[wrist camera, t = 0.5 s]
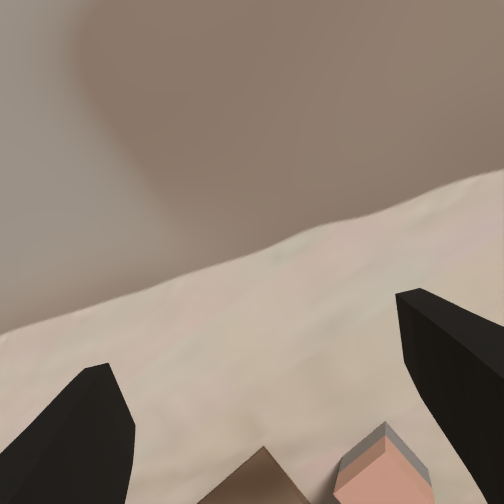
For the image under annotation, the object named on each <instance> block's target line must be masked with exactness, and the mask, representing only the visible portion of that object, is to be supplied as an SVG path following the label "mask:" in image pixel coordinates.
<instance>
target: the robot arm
mask: <svg viewBox="0 0 504 504" xmlns="http://www.w3.org/2000/svg"><path fill="white" fill-rule="evenodd" d="M395 296H396V303H397V311H398V319H399V326H400V334H401V342H402V349H403V357H404V363H405V365H406V367H407V369H408V371H409V374H410V376H411V378H412V380H413V382H414V384H415V386H416V388H417V390H418V392H419V394H420V396H421V398H422V400H423V401H424V403H425V404H426V406H427V408H428V409H429V411H430V412H431V414H432V415H433V417H434V418H435V420H436V422H437V423H438V425H439V426H440V428H441V429H442V431H443V432H444V434H445V435H446V437H447V438H448V440H449V442H450V443H451V445H452V446H453V448H454V449H455V451H456V452H457V454H458V455H459V457H460V458H461V460H462V461H463V463H464V465H465V466H466V468H467V469H468V471H469V472H470V474H471V475H472V477H473V479H474V480H475V482H476V484H477V485H478V487H479V489H480V490H481V492H482V494H483V496H484V498H485V499H486V501H487V503H488V504H504V327H503V326H501V325H498V324H496V323H494V322H491V321H489V320H487V319H485V318H482V317H480V316H478V315H476V314H474V313H472V312H470V311H467V310H465V309H463V308H461V307H459V306H457V305H455V304H453V303H451V302H449V301H447V300H445V299H443V298H441V297H439V296H437V295H434V294H432V293H430V292H428V291H426V290H424V289H421V288H418V289H414V290H410V291H405V292H401V293H397V294H395ZM135 426H136V425H135V423H134V421H133V418H132V416H131V414H130V411H129V409H128V407H127V405H126V402H125V400H124V398H123V395H122V393H121V391H120V388H119V386H118V384H117V381H116V379H115V377H114V374H113V372H112V370H111V367H110V365H109V363H105V364H101V365H97V366H93V367H88V368H85V369H84V370H82V371H81V372H80V373H79V374H78V375H77V376H76V377H75V378H74V379H73V380H72V381H71V382H70V383H69V384H68V385H67V386H66V387H65V388H64V389H63V390H62V391H61V392H60V393H59V394H58V395H57V397H56V398H55V399H54V400H53V401H52V402H51V403H50V404H49V405H48V406H47V407H46V408H45V409H44V410H43V411H42V412H41V413H40V414H39V416H38V417H37V418H36V419H35V420H34V421H33V422H32V423H31V424H30V425H29V426H28V427H27V428H26V429H25V430H24V431H23V432H22V433H21V434H20V435H19V436H18V437H17V438H16V439H15V440H14V441H13V442H12V443H11V444H10V445H9V446H8V447H7V448H6V449H5V450H4V451H3V452H1V453H0V504H125V499H126V495H127V490H128V485H129V480H130V476H131V471H132V465H133V456H134V443H135Z"/></svg>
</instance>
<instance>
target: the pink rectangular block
mask: <svg viewBox="0 0 504 504" xmlns="http://www.w3.org/2000/svg"><path fill="white" fill-rule="evenodd" d="M333 495H334V496H335V497H336V498H337V499H338V501H339V502H340V503H341V504H435V499H434V495H433V490H432V486H431V481H430V477H429V472H428V469H427V468H426V467H425V465H424V464H423V463H422V462H421V461H420V460H419V459H418V457H417V456H416V455H415V454H414V453H413V452H412V451H411V450H410V448H409V447H408V446H407V445H406V444H405V443H404V442H403V440H402V439H401V438H400V437H399V436H398V435H397V434H396V433H395V431H394V430H393V429H392V428H391V427H390V426H389V425H388V424H387V422H386V421H385V422H384V423H382V424H381V425H380V426H379V427H378V428H376V429H375V430H374V431H373V432H372V433H370V434H369V435H368V436H367V437H366V438H364V439H363V440H362V441H361V442H359V443H358V444H357V445H356V446H355V447H353V448H352V449H351V450H350V451H349V452H347V453H346V454H345V455H344V456H343V457H342V460H341V464H340V468H339V472H338V477H337V481H336V485H335V489H334V493H333Z"/></svg>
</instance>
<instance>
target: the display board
mask: <svg viewBox="0 0 504 504" xmlns="http://www.w3.org/2000/svg"><path fill="white" fill-rule="evenodd" d="M197 504H310V503H309V501H308V500H307V499H306V498H305V496H304V495H303V494H302V493H301V491H300V490H299V489H298V488H297V487H296V485H295V484H294V483H293V482H292V480H291V479H290V478H289V477H288V475H287V474H286V473H285V472H284V470H283V469H282V468H281V467H280V465H279V464H278V463H277V462H276V460H275V459H274V458H273V457H272V455H271V454H270V453H269V452H268V450H267V449H266V448H265V447H264V446H263V447H262V448H261V449H260V450H258V451H257V452H256V453H255V454H254V455H253V456H251V457H250V458H249V459H248V460H247V461H246V462H245V463H243V464H242V465H241V466H240V467H239V468H238V469H236V470H235V471H234V472H233V473H232V474H231V475H229V476H228V477H227V478H226V479H225V480H224V481H223V482H221V483H220V484H219V485H218V486H217V487H216V488H214V489H213V490H212V491H211V492H210V493H209V494H208V495H206V496H205V497H204V498H203V499H202V500H201V501H199V502H198V503H197Z"/></svg>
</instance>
